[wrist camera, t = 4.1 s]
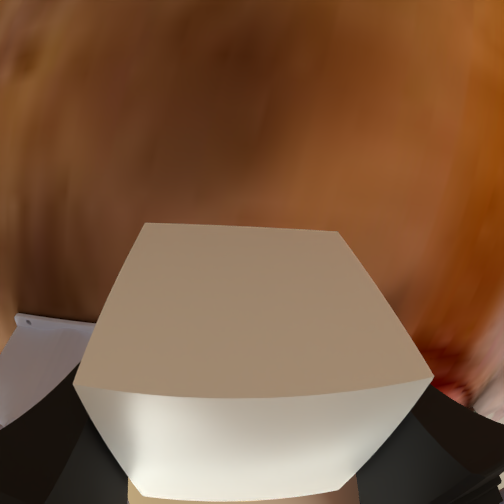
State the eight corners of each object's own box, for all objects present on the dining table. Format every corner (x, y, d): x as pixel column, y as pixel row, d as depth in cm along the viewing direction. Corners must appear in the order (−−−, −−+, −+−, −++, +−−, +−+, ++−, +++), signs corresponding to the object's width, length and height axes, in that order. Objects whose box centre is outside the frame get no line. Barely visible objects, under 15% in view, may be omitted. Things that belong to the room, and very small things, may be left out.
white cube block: (159, 359, 13) (142, 496, 7) (144, 222, 10) (72, 383, 4) (303, 361, 13) (337, 490, 8) (337, 231, 10) (434, 376, 5)
